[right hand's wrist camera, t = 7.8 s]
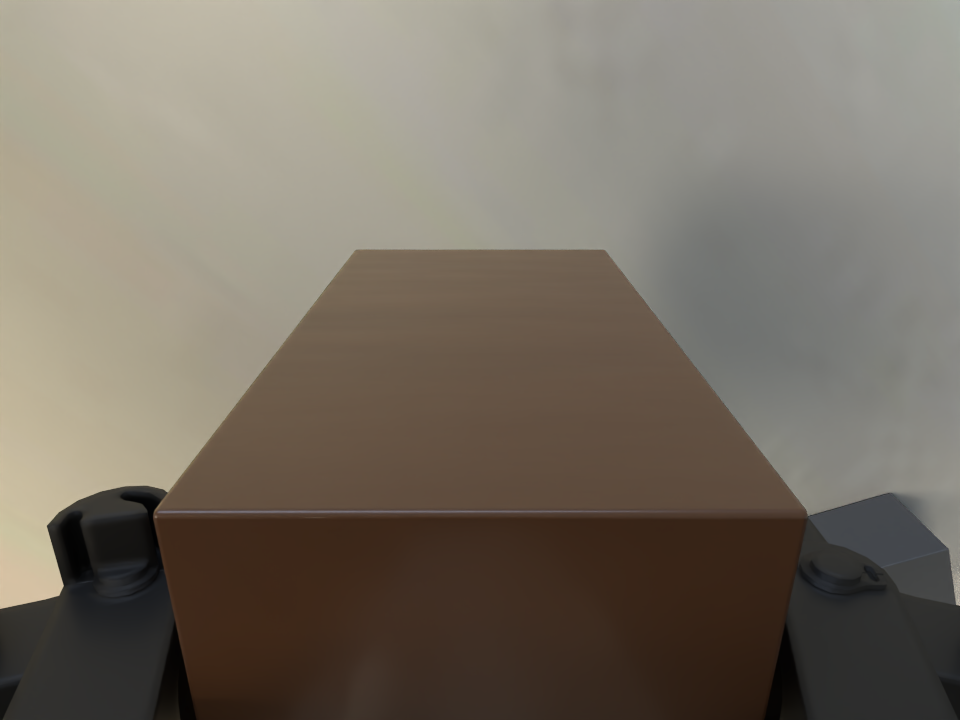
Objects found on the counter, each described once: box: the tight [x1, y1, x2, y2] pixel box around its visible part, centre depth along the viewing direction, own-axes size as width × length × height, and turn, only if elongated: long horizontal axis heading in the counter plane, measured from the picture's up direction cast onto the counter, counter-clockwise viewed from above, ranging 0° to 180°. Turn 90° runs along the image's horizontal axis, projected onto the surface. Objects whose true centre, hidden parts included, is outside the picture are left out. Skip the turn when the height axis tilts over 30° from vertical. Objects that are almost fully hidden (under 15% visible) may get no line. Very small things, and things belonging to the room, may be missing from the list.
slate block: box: [808, 493, 956, 605], centre depth 29 cm, size 4×4×4 cm
